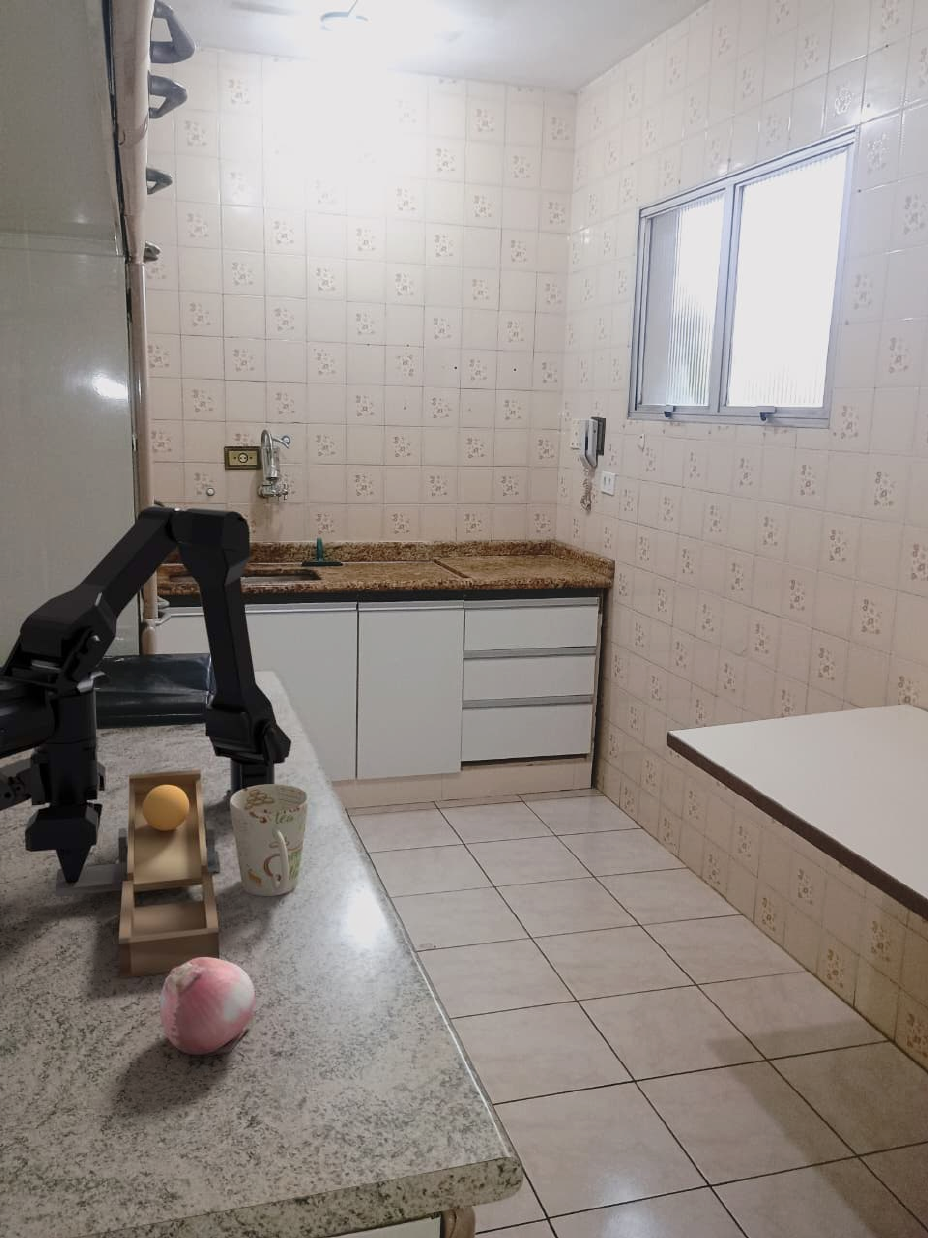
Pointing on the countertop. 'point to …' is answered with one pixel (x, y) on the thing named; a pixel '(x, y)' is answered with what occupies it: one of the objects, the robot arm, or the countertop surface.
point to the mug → (269, 836)
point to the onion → (206, 1006)
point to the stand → (212, 855)
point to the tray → (166, 932)
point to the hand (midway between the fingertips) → (72, 881)
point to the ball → (165, 807)
